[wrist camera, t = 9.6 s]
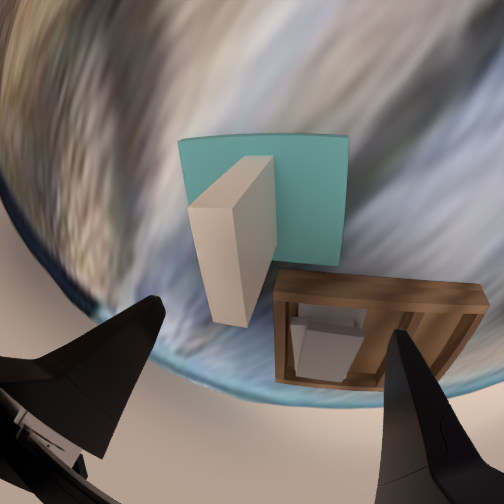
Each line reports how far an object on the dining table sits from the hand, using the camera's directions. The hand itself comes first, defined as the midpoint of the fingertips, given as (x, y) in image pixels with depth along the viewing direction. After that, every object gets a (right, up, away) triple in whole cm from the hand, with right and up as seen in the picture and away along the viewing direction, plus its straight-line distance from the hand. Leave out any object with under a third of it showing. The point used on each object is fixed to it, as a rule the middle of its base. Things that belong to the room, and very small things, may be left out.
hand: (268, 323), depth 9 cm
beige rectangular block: (0, +6, +10) cm, 12 cm away
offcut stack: (+7, -6, +16) cm, 19 cm away
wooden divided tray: (+12, -6, +16) cm, 21 cm away
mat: (0, +7, +11) cm, 13 cm away
